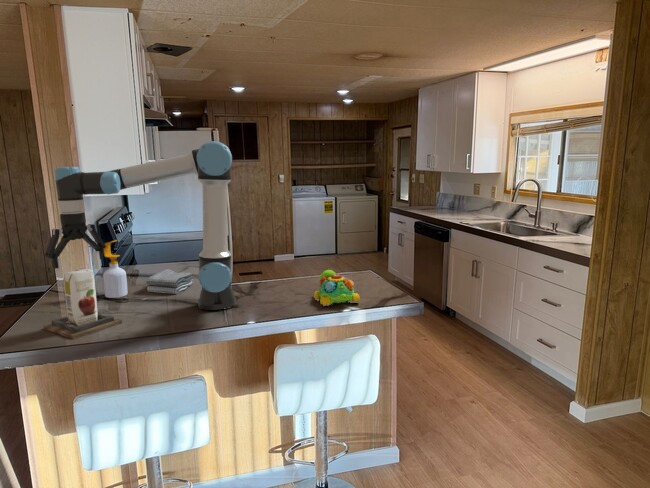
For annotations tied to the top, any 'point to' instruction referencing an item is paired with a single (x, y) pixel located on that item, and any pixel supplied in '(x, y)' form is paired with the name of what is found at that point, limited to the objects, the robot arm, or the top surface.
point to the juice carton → (80, 296)
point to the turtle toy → (335, 289)
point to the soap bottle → (114, 276)
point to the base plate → (73, 331)
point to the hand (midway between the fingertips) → (79, 273)
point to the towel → (169, 282)
